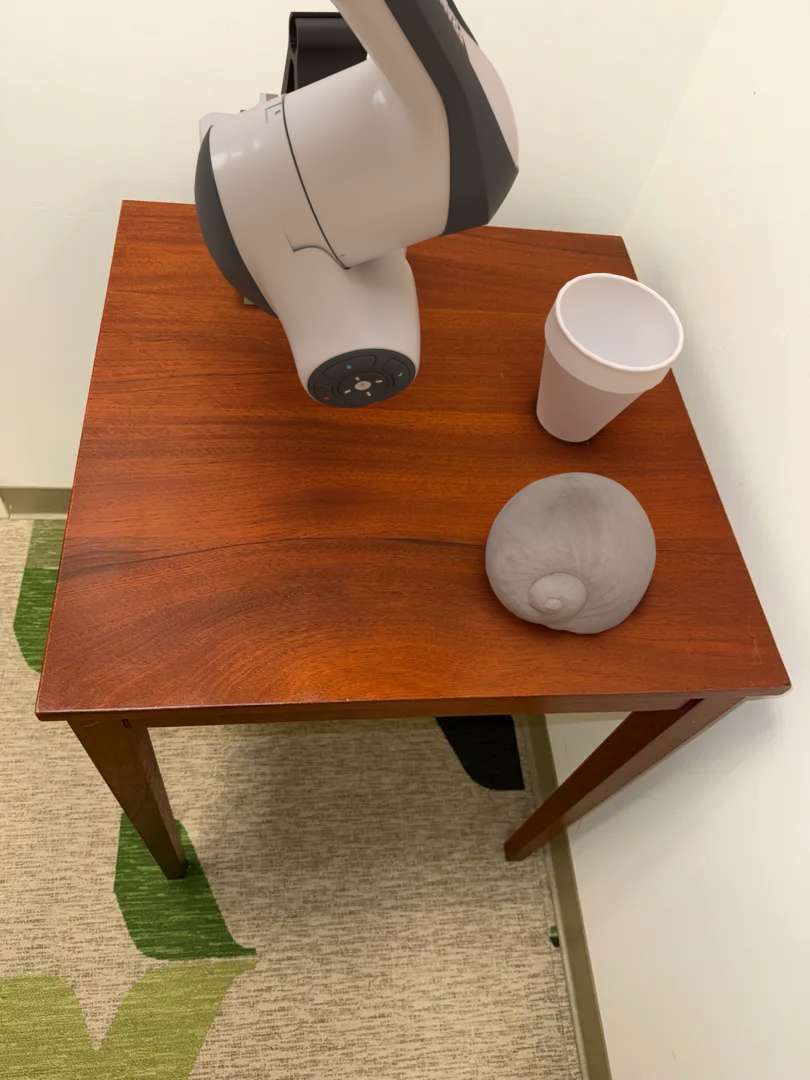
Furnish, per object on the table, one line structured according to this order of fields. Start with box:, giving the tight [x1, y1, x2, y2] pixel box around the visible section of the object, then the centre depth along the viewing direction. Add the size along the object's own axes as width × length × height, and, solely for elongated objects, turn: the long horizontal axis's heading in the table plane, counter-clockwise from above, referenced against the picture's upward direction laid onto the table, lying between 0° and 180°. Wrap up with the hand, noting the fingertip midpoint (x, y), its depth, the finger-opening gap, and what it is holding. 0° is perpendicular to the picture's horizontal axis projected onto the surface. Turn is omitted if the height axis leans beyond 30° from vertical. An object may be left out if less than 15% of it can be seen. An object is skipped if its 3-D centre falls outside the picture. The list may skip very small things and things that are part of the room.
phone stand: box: [280, 11, 368, 95], centre depth 66 cm, size 9×6×12 cm, turn 19°
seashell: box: [485, 471, 657, 634], centre depth 68 cm, size 15×14×15 cm
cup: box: [536, 272, 685, 443], centre depth 75 cm, size 12×12×14 cm
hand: (327, 107), depth 63 cm, fingers open, 8 cm apart
